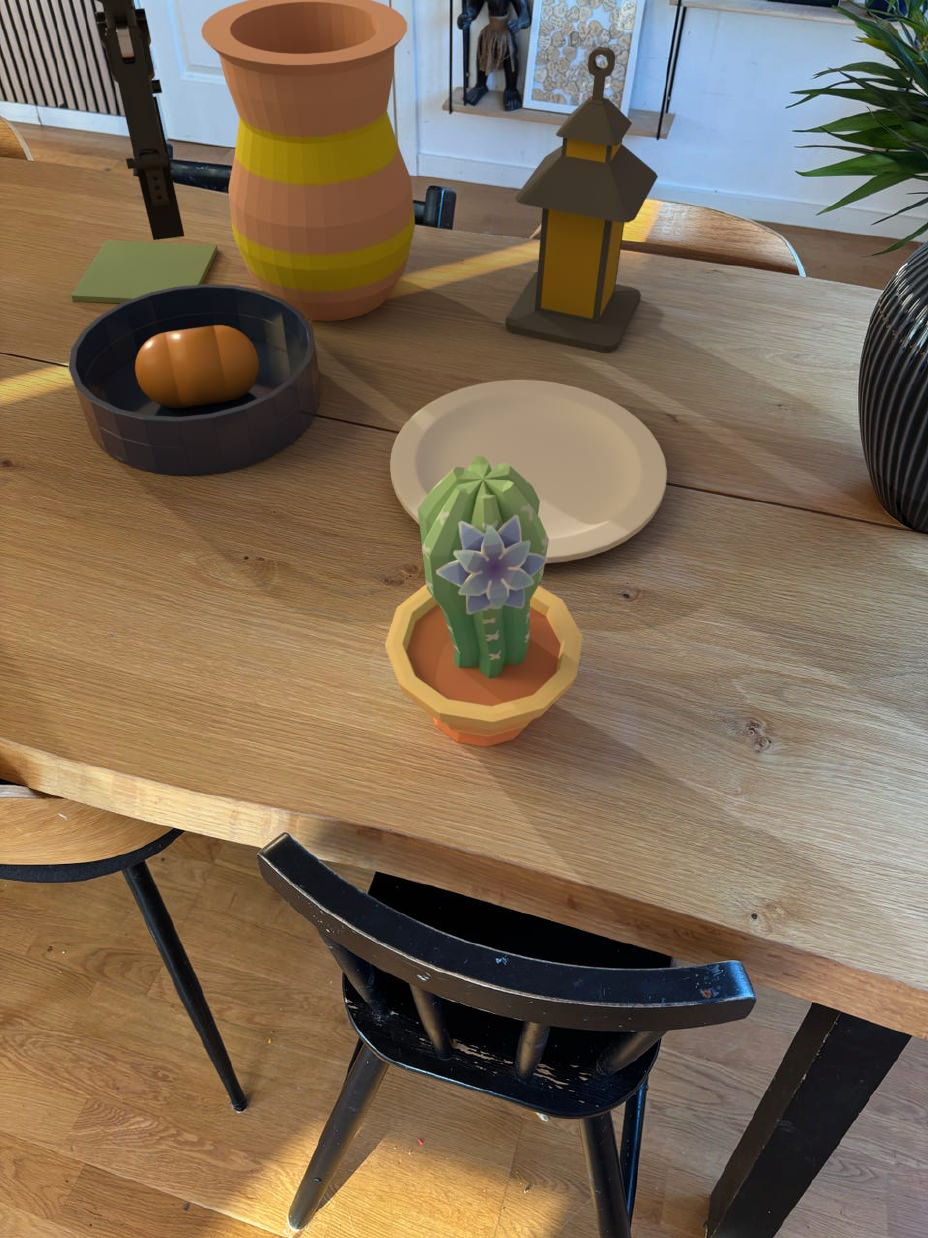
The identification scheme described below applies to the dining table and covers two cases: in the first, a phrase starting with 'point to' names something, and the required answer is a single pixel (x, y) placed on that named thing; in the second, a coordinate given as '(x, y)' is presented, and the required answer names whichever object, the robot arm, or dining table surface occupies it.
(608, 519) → the plate
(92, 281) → the mat
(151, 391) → the orange capsule
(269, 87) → the vase
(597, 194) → the lantern
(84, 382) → the bowl
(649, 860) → the dining table surface
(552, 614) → the potted cactus
